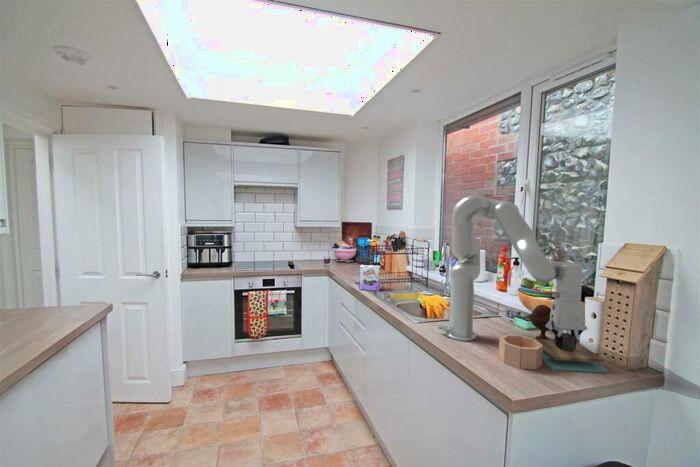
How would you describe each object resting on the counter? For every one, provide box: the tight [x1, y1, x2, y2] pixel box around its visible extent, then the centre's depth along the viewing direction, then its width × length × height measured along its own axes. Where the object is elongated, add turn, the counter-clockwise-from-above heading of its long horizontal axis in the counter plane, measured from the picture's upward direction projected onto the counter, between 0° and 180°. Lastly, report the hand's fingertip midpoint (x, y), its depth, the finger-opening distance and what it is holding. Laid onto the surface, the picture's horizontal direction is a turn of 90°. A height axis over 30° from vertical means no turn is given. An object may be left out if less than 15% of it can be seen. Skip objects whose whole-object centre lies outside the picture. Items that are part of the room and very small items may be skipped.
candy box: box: [358, 264, 381, 292], centre depth 220 cm, size 14×6×16 cm, turn 80°
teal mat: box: [542, 351, 609, 374], centre depth 118 cm, size 18×18×1 cm
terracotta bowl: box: [498, 334, 543, 370], centre depth 116 cm, size 13×13×7 cm
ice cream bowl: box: [529, 304, 555, 340], centre depth 136 cm, size 11×11×15 cm
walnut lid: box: [534, 332, 605, 363], centre depth 117 cm, size 16×16×6 cm
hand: (565, 346), depth 118 cm, fingers closed on walnut lid, 4 cm apart
